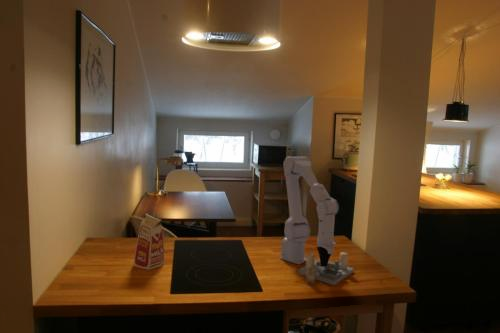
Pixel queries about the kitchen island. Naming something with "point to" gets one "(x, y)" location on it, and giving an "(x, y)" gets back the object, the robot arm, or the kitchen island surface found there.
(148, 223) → the milk carton
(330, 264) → the bar
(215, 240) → the kitchen island surface
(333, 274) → the board
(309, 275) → the leg peg
